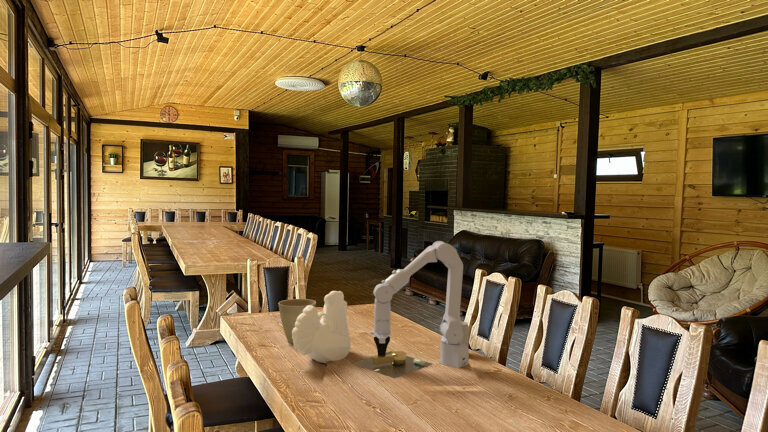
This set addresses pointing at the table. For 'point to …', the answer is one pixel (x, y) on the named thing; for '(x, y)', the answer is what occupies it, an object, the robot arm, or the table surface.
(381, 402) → the table surface
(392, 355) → the brass door handle
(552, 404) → the table surface
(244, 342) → the table surface
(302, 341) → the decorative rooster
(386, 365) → the base plate
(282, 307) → the plant pot
